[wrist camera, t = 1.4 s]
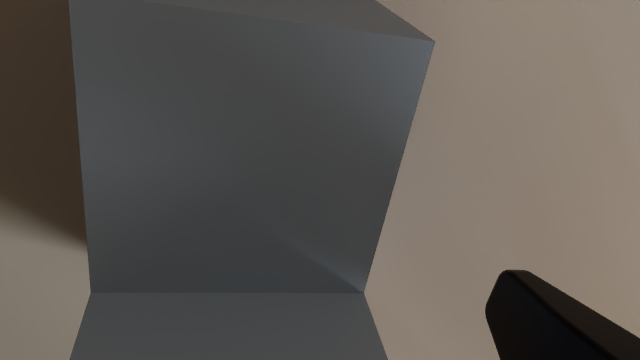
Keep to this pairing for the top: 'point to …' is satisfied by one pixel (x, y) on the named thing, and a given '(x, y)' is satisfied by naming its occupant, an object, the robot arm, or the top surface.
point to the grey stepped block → (238, 173)
